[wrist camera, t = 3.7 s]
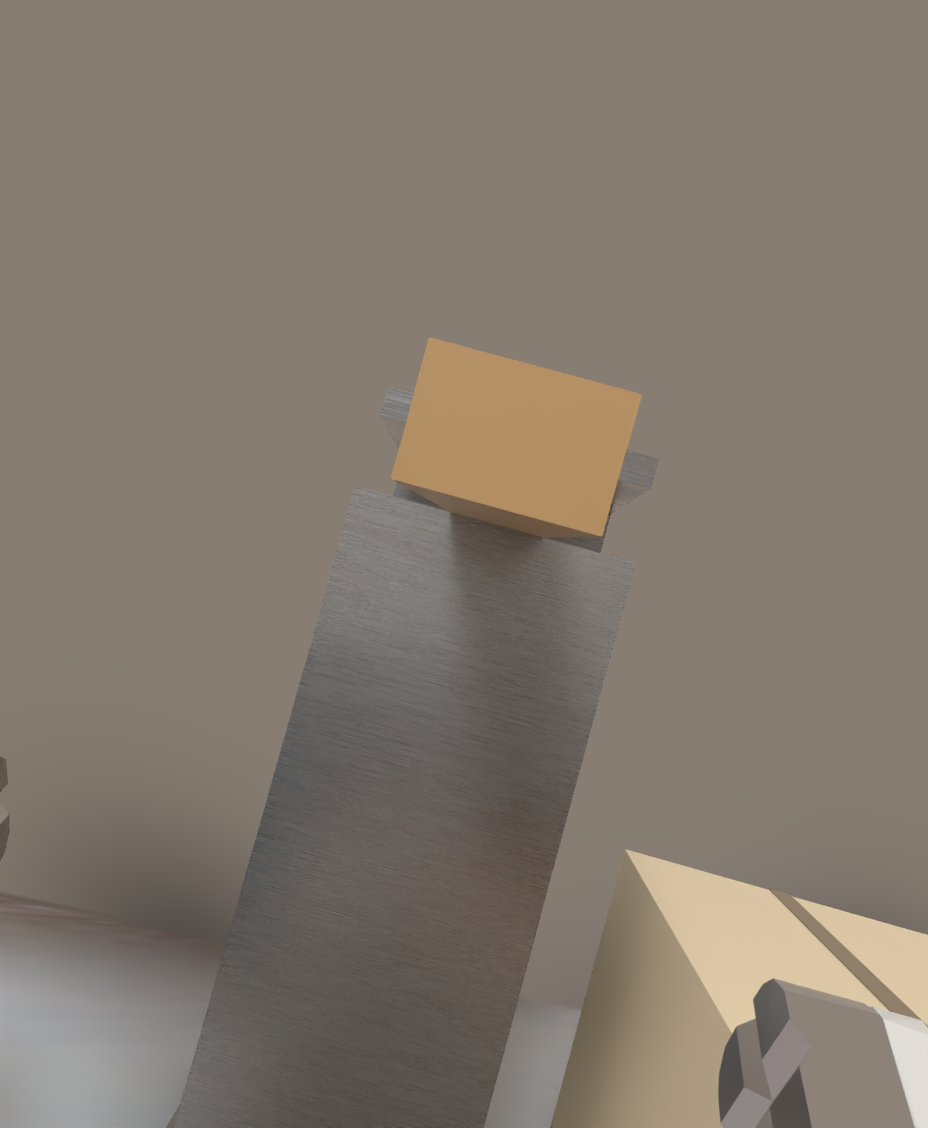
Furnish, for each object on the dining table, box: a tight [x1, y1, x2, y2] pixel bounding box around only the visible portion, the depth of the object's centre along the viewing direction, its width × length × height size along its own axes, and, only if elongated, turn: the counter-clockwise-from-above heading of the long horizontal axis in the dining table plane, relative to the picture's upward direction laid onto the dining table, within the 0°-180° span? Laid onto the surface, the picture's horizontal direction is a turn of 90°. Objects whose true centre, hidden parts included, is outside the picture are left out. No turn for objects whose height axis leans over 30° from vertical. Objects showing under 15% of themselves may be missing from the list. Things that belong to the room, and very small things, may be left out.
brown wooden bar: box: [391, 338, 642, 537], centre depth 23 cm, size 22×3×2 cm, turn 179°
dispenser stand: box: [167, 386, 658, 1128], centre depth 33 cm, size 14×12×30 cm
